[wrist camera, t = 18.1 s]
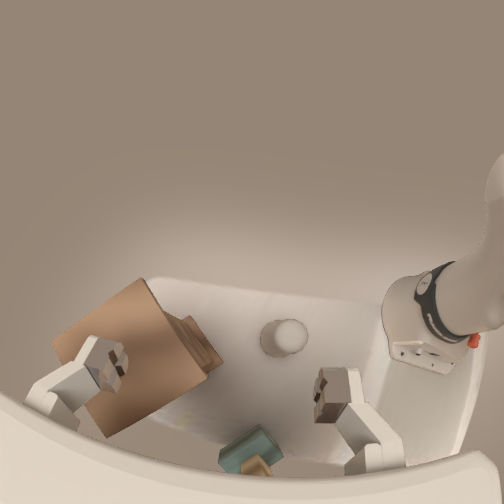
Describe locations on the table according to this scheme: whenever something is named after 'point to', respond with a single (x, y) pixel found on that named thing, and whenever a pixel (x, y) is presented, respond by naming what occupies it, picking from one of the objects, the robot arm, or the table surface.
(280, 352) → the salt shaker
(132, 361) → the pedestal
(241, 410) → the table surface
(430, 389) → the table surface
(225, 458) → the mallet
